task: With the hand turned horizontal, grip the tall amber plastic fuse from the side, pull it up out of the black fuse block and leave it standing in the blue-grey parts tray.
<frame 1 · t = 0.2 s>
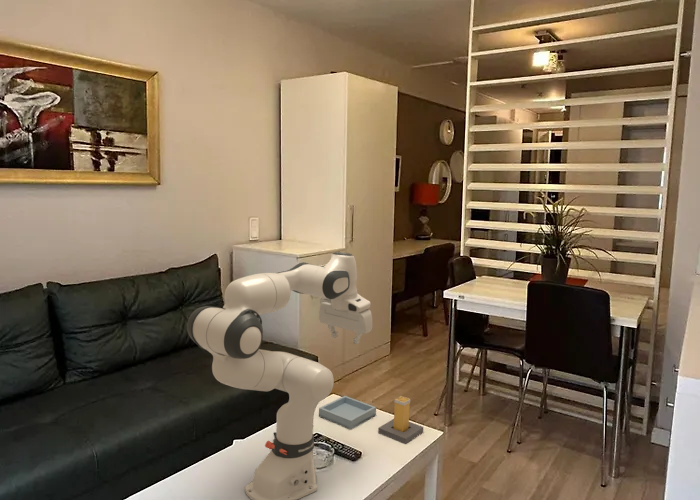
hand: (345, 340, 172), 39 cm above the table, tool pointing down, fingers open, 8 cm apart
fuse block: (400, 432, 192), on the table
fuse: (401, 415, 191), in the fuse block
gun: (293, 435, 187), on the table
parts tray: (347, 416, 204), on the table
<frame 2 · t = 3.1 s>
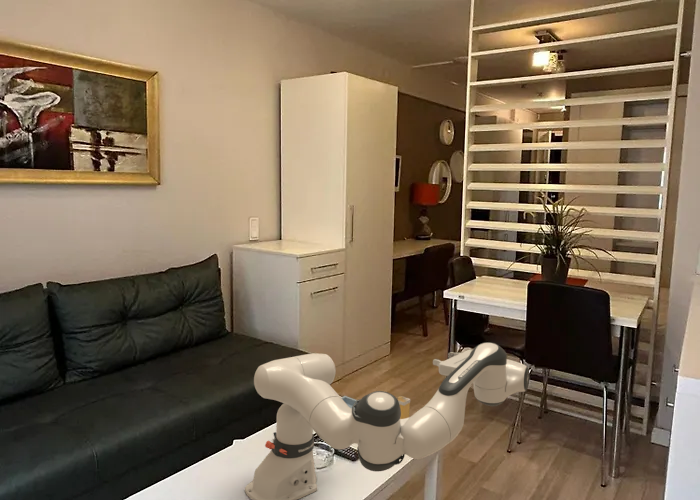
hand: (441, 358, 174), 34 cm above the table, tool horizontal, fingers open, 8 cm apart
nothing on the table moved.
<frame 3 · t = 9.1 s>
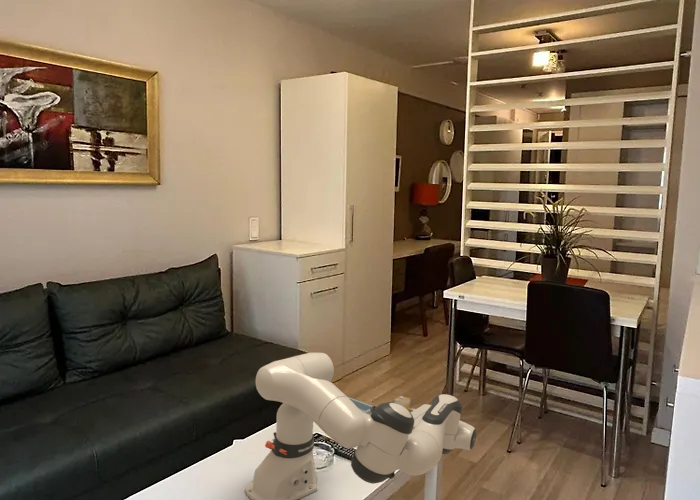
hand: (399, 412, 191), 8 cm above the table, tool horizontal, fingers closed on fuse, 4 cm apart
fuse: (401, 415, 191), in the fuse block, touching gripper
everything else where it was.
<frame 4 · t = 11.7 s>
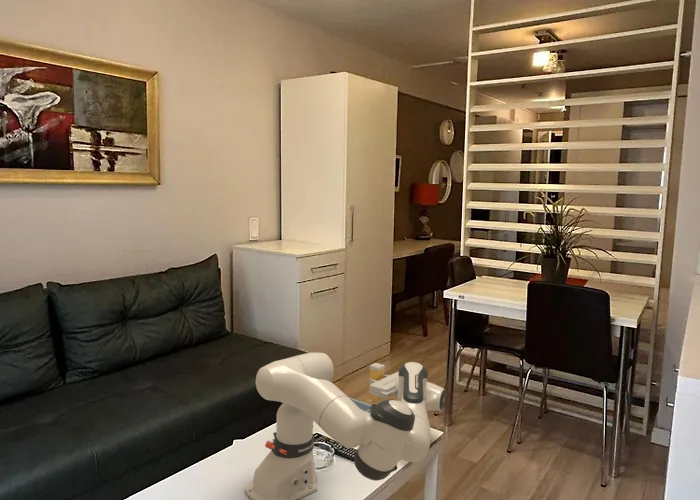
hand: (374, 378, 197), 17 cm above the table, tool horizontal, fingers closed on fuse, 4 cm apart
fuse: (376, 381, 197), point 16 cm above the table, touching gripper
everything else where it was.
when the fingers open (9 cm above the table, at t = 14.6 s): fuse stays where it is, resting on parts tray.
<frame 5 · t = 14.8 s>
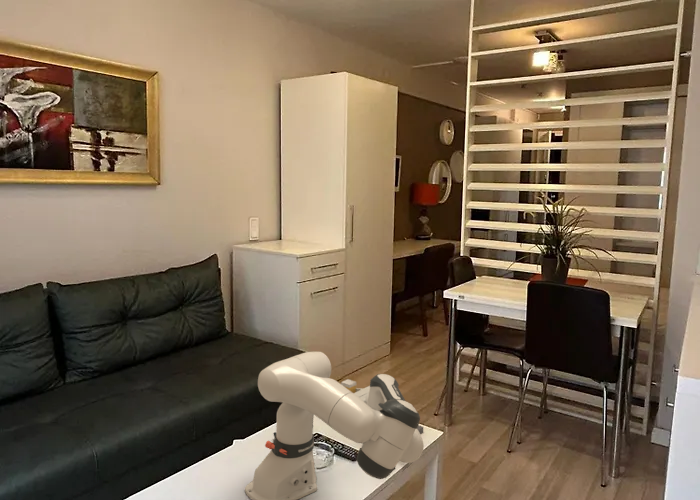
hand: (346, 392, 203), 9 cm above the table, tool horizontal, fingers open, 6 cm apart
fuse: (348, 397, 203), in the parts tray, point 8 cm above the table
everything else where it was.
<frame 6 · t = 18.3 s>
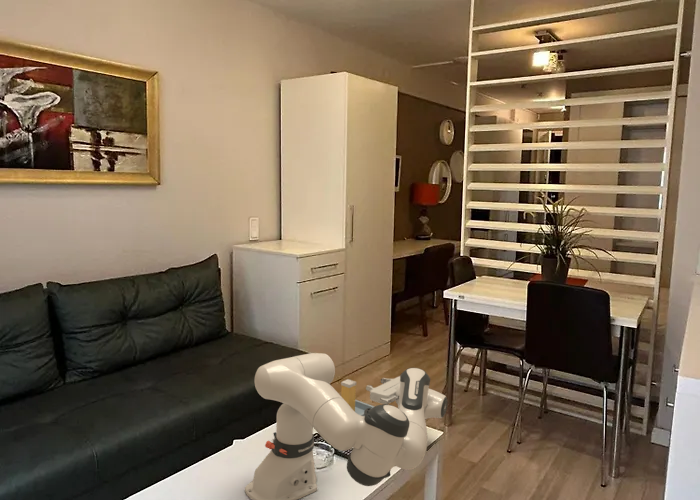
hand: (374, 383, 194), 17 cm above the table, tool horizontal, fingers open, 8 cm apart
nothing on the table moved.
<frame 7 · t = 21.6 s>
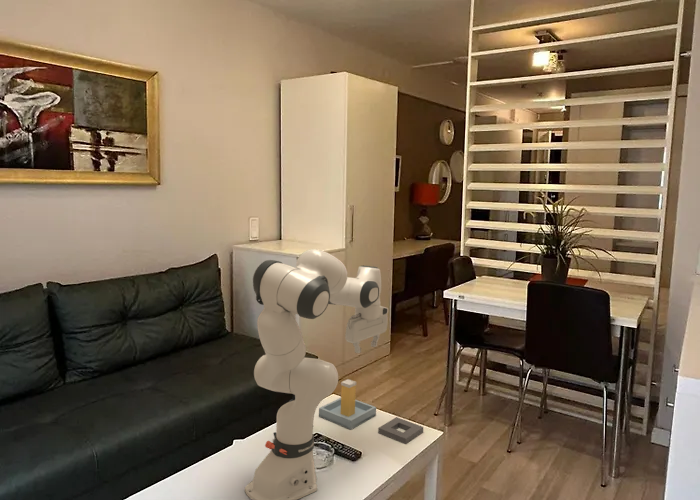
hand: (366, 349, 182), 33 cm above the table, tool pointing down, fingers open, 8 cm apart
nothing on the table moved.
at the end: fuse inside the target area on the parts tray (0.0 cm from its centre), point 7.5 cm above the parts tray's base; the gripper is holding nothing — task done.
